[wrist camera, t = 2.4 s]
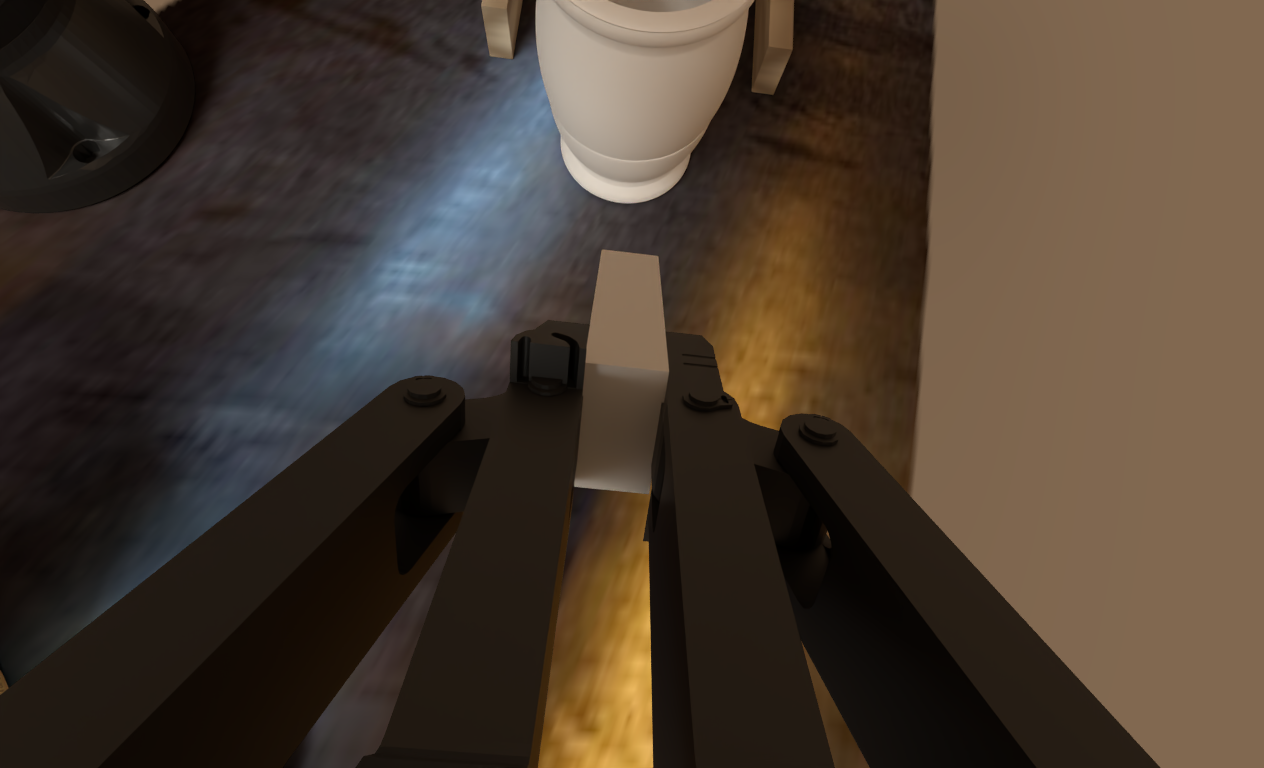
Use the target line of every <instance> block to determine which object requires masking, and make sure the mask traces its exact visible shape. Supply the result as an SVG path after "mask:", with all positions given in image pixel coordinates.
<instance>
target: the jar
mask: <svg viewBox="0 0 1264 768" xmlns="http://www.w3.org/2000/svg"><path fill="white" fill-rule="evenodd" d="M753 2H754V0H536V43H537V52H538V59H539V65H540V70H541V74H542V78H543V82H544V86H545V89H546V92H547V96H548V98H549V101H550V106H551V110H552V113H553V117H554V120H555V122H556V125H557V128H558V130H559V132H560V134H561V152H562V156H563V159H564V162H565V164H566V167H567V169H568V170H569V172H570V173H571V175H572V176H573V178H574V179H575V180H576V181H577V182H578V183H579V184H580V185H581V186H582V187H583V188H585V189H586V190H587V191H589V192H590V193H592V194H594V195H596V196H598V197H600V198H602V199H605V200H608V201H612V202H617V203H639V202H645V201H648V200H651V199H654V198H657V197H659V196H661V195H662V194H664V193H666V192H667V191H668V190H670V189H671V188H672V187H673V186H674V185H675V184H676V183H677V182H678V181H679V180H680V178H681V177H682V176H683V174H684V172H685V170H686V168H687V166H688V163H689V159H690V154H691V152H692V151H693V149H694V148H695V147H696V146H697V144H698V143H699V141H700V140H701V138H702V136H703V135H704V133H705V131H706V129H707V127H708V125H709V123H710V121H711V120H712V118H713V117H714V115H715V114H716V112H717V110H718V109H719V107H720V105H721V103H722V101H723V100H724V98H725V96H726V93H727V91H728V89H729V87H730V84H731V82H732V79H733V77H734V74H735V71H736V68H737V65H738V62H739V58H740V55H741V51H742V46H743V42H744V37H745V32H746V26H747V19H748V10H749V7H750V6H751V5H752V3H753Z"/></svg>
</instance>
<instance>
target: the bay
mask: <svg viewBox="0 0 1264 768" xmlns="http://www.w3.org/2000/svg"><path fill="white" fill-rule="evenodd" d="M522 2H523V0H482V4H481V7H482V13H483V19H484V25H485V30H486V36H487V42H488V48H489V54H490V56H493V57H500V58H508V59H513V55H514V49H515V43H516V37H517V31H518V26H519V20H520V14H521V8H522ZM793 19H794V0H756V7H755V28H754V49H753V71H752V92H756V93H763V94H770V95H774V92H775V90H776V88H777V85H778V83H779V81H780V78H781V76H782V74H783V71H784V69H785V67H786V64H787V62H788V59H789V57H790V55H791V52H792V50H793Z"/></svg>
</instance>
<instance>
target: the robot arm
mask: <svg viewBox="0 0 1264 768" xmlns="http://www.w3.org/2000/svg"><path fill="white" fill-rule="evenodd" d="M194 98H195V82H194V75H193V70H192V67H191V63H190V61H189V58H188V56H187V54H186V52H185V50H184V49H183V47H182V46H181V44H180V43H179V41H178V40H177V39H176V37H175V36H174V35H173V34H172V32H171V31H170V30H169V28H168V27H167V26H166V25H165V23H164V22H163V21H162V19H161V18H160V17H159V16H158V14H157V13H156V12H155V11H154V10H153V9H152V8H151V7H150V6H149V5H148V4H147V3H146V2H145V1H143V0H0V209H4V210H9V211H15V212H25V213H50V212H60V211H66V210H72V209H76V208H81V207H85V206H88V205H92V204H95V203H98V202H100V201H103V200H106V199H108V198H110V197H113V196H115V195H117V194H119V193H121V192H123V191H125V190H126V189H128V188H130V187H132V186H133V185H135V184H136V183H138V182H139V181H141V180H142V179H143V178H145V177H146V176H148V175H149V174H150V173H151V172H152V171H154V170H155V169H156V168H157V167H158V166H159V165H160V164H161V163H162V162H163V161H164V160H165V159H166V158H167V157H168V156H169V154H170V153H171V152H172V151H173V149H174V148H175V147H176V145H177V144H178V142H179V141H180V139H181V137H182V135H183V134H184V132H185V130H186V127H187V125H188V123H189V120H190V117H191V114H192V110H193V105H194ZM651 478H652V491H651V497H650V503H649V509H648V515H647V521H646V527H645V533H644V539H643V541H649V573H650V623H651V673H652V722H653V768H835V767H834V763H833V759H832V755H831V752H830V748H829V744H828V740H827V737H826V733H825V729H824V725H823V722H822V718H821V714H820V710H819V707H818V703H817V699H816V695H815V692H814V688H813V684H812V680H811V677H810V673H809V669H808V665H807V661H806V658H805V654H804V650H803V646H802V643H803V645H804V647H805V648H806V650H807V652H808V654H809V656H810V658H811V660H812V661H813V663H814V665H815V667H816V669H817V671H818V673H819V674H820V676H821V678H822V680H823V682H824V684H825V685H826V687H827V689H828V691H829V693H830V695H831V697H832V698H833V700H834V702H835V704H836V706H837V708H838V710H839V711H840V713H841V715H842V717H843V719H844V721H845V722H846V724H847V726H848V728H849V730H850V732H851V734H852V735H853V737H854V739H855V741H856V743H857V745H858V747H859V748H860V750H861V752H862V754H863V756H864V758H865V760H866V761H867V763H868V765H869V767H870V768H1160V767H1159V766H1158V765H1157V764H1156V763H1155V761H1154V760H1153V759H1152V758H1151V757H1150V756H1149V755H1148V754H1147V753H1146V752H1145V751H1144V749H1143V748H1142V747H1141V746H1140V745H1139V744H1138V743H1137V742H1136V741H1135V740H1134V739H1133V738H1132V737H1131V735H1130V734H1129V733H1128V732H1127V731H1126V730H1125V729H1124V728H1123V727H1122V726H1121V725H1120V724H1119V722H1118V721H1117V720H1116V719H1115V718H1114V717H1113V716H1112V715H1111V714H1110V713H1109V711H1108V710H1107V709H1106V708H1105V707H1104V706H1103V705H1102V704H1101V703H1100V702H1099V701H1098V700H1097V698H1096V697H1095V696H1094V695H1093V694H1092V693H1091V692H1090V691H1089V690H1088V689H1087V688H1086V687H1085V685H1084V684H1083V683H1082V682H1081V681H1080V680H1079V679H1078V678H1077V677H1076V676H1075V675H1074V674H1073V672H1072V671H1071V670H1070V669H1069V668H1068V667H1067V666H1066V665H1065V664H1064V663H1063V662H1062V661H1061V659H1060V658H1059V657H1058V656H1057V655H1056V654H1055V653H1054V652H1053V651H1052V650H1051V649H1050V647H1049V646H1048V645H1047V644H1046V643H1045V642H1044V641H1043V640H1042V639H1041V638H1040V637H1039V636H1038V634H1037V633H1036V632H1035V631H1034V630H1033V629H1032V628H1031V627H1030V626H1029V625H1028V624H1027V622H1026V621H1025V620H1024V619H1023V618H1022V617H1021V616H1020V615H1019V614H1018V613H1017V612H1016V611H1015V610H1014V608H1013V607H1012V606H1011V605H1010V604H1009V603H1008V602H1007V601H1006V600H1005V599H1004V598H1003V596H1002V595H1001V594H1000V593H999V592H998V591H997V590H996V589H995V588H994V587H993V586H992V585H991V584H990V582H989V581H988V580H987V579H986V578H985V577H984V576H983V575H982V574H981V573H980V571H979V570H978V569H977V568H976V567H975V566H974V565H973V564H972V563H971V562H970V561H969V560H968V558H967V557H966V556H965V555H964V554H963V553H962V552H961V551H960V550H959V549H958V548H957V546H956V545H954V543H953V542H952V541H951V540H950V539H949V538H948V537H947V536H946V535H945V533H944V532H943V531H942V530H941V529H940V528H939V527H938V526H937V525H936V524H935V523H934V522H933V521H932V519H930V517H929V516H928V515H927V514H926V513H925V512H924V511H923V510H922V509H921V507H920V506H919V505H918V504H917V503H916V502H915V501H914V500H913V499H912V498H911V497H910V495H909V494H908V493H907V492H906V491H905V490H904V489H903V488H902V487H901V486H900V485H899V484H898V482H897V481H896V480H895V479H894V478H893V477H892V476H891V475H890V474H889V473H888V472H887V471H886V469H885V468H884V467H883V466H882V465H881V464H880V463H879V462H878V461H877V460H876V459H875V458H874V456H873V455H872V454H871V453H870V452H869V451H868V450H867V449H866V448H865V447H864V446H863V444H862V443H861V442H860V441H859V440H858V439H857V438H856V437H855V436H854V435H853V434H852V433H851V432H850V431H849V430H848V429H846V428H845V427H844V426H843V425H841V424H839V423H837V422H835V421H833V420H831V419H830V418H828V417H824V416H822V417H821V415H816V414H795V415H790V416H788V417H787V418H785V419H783V420H782V424H781V427H780V430H779V431H777V430H774V429H770V428H767V427H763V426H760V425H757V424H754V423H751V422H749V421H747V420H745V419H743V418H742V417H741V413H740V410H739V406H738V404H737V403H736V401H735V399H734V398H733V397H731V396H730V395H729V394H727V393H726V392H724V391H723V387H722V383H721V379H720V375H719V370H718V368H717V362H716V359H715V354H714V350H713V346H712V345H711V344H710V343H709V342H708V341H707V340H706V339H705V338H704V337H702V336H701V335H692V334H683V333H674V332H666V331H665V323H664V313H663V302H662V292H661V281H660V271H659V260H658V256H653V255H644V254H636V253H627V252H619V251H610V250H602V252H601V258H600V265H599V271H598V277H597V284H596V290H595V296H594V303H593V309H592V315H591V322H590V325H588V324H579V323H570V322H561V321H552V320H548V321H546V322H545V323H543V324H542V325H540V326H539V327H537V328H536V329H535V330H528V331H524V332H522V333H520V334H517V335H516V336H515V337H514V338H513V339H512V340H511V358H510V383H509V386H508V388H507V391H506V392H505V393H503V394H501V395H497V396H493V397H488V398H481V399H467V400H465V394H464V390H463V388H462V387H461V386H460V385H458V384H457V383H456V382H454V381H451V380H448V379H446V378H441V377H434V376H415V377H412V378H408V379H404V380H401V381H399V382H397V383H395V384H393V385H391V386H389V387H388V388H387V389H386V390H384V391H383V392H382V393H381V394H379V395H378V396H377V397H376V398H374V399H373V400H372V401H371V402H369V403H368V404H367V405H365V406H364V407H363V408H362V409H360V410H359V411H358V412H357V413H355V414H354V415H353V416H352V417H350V418H349V419H348V420H347V421H345V422H344V423H343V424H341V425H340V426H339V427H338V428H336V429H335V430H334V431H333V432H331V433H330V434H329V435H328V436H326V437H325V438H324V439H323V440H321V441H320V442H319V443H317V444H316V445H315V446H314V447H312V448H311V449H310V450H309V451H307V452H306V453H305V454H304V455H302V456H301V457H300V458H299V459H297V460H296V461H295V462H294V463H292V464H291V465H290V466H288V467H287V468H286V469H285V470H283V471H282V472H281V473H280V474H278V475H277V476H276V477H275V478H273V479H272V480H271V481H270V482H268V483H267V484H266V485H264V486H263V487H262V488H261V489H259V490H258V491H257V492H256V493H254V494H253V495H252V496H251V497H249V498H248V499H247V500H246V501H244V502H243V503H242V504H240V505H239V506H238V507H237V508H235V509H234V510H233V511H232V512H230V513H229V514H228V515H227V516H225V517H224V518H223V519H222V520H220V521H219V522H218V523H216V524H215V525H214V526H213V527H211V528H210V529H209V530H208V531H206V532H205V533H204V534H203V535H201V536H200V537H199V538H198V539H196V540H195V541H194V542H193V543H191V544H190V545H189V546H187V547H186V548H185V549H184V550H182V551H181V552H180V553H179V554H177V555H176V556H175V557H174V558H172V559H171V560H170V561H169V562H167V563H166V564H165V565H163V566H162V567H161V568H160V569H158V570H157V571H156V572H155V573H153V574H152V575H151V576H150V577H148V578H147V579H146V580H145V581H143V582H142V583H141V584H139V585H138V586H137V587H136V588H134V589H133V590H132V591H131V592H129V593H128V594H127V595H126V596H124V597H123V598H122V599H121V600H119V601H118V602H117V603H115V604H114V605H113V606H112V607H110V608H109V609H108V610H107V611H105V612H104V613H103V614H102V615H100V616H99V617H98V618H97V619H95V620H94V621H93V622H92V623H90V624H89V625H88V626H86V627H85V628H84V629H83V630H81V631H80V632H79V633H78V634H76V635H75V636H74V637H73V638H71V639H70V640H69V641H68V642H66V643H65V644H64V645H62V646H61V647H60V648H59V649H57V650H56V651H55V652H54V653H52V654H51V655H50V656H49V657H47V658H46V659H45V660H44V661H42V662H41V663H40V664H38V665H37V666H36V667H35V668H33V669H32V670H31V671H30V672H28V673H27V674H26V675H25V676H23V677H22V678H21V679H20V680H18V681H17V682H16V683H15V684H13V685H12V686H11V687H9V688H8V689H7V690H6V691H4V692H3V693H2V694H1V695H0V768H282V767H283V766H284V765H285V763H286V762H287V761H288V759H289V758H290V756H291V755H292V754H293V752H294V751H295V750H296V748H297V747H298V746H299V744H300V743H301V742H302V740H303V739H304V738H305V736H306V735H307V733H308V732H309V731H310V729H311V728H312V727H313V725H314V724H315V723H316V721H317V720H318V719H319V717H320V716H321V715H322V713H323V712H324V710H325V709H326V708H327V706H328V705H329V704H330V702H331V701H332V700H333V698H334V697H335V696H336V694H337V693H338V692H339V690H340V689H341V687H342V686H343V685H344V683H345V682H346V681H347V679H348V678H349V677H350V675H351V674H352V673H353V671H354V670H355V668H356V667H357V666H358V664H359V663H360V662H361V660H362V659H363V658H364V656H365V655H366V654H367V652H368V651H369V650H370V648H371V647H372V645H373V644H374V643H375V641H376V640H377V639H378V637H379V636H380V635H381V633H382V632H383V631H384V629H385V628H386V627H387V625H388V624H389V622H390V621H391V620H392V618H393V617H394V616H395V614H396V613H397V612H398V610H399V609H400V608H401V606H402V605H403V604H404V602H405V601H406V599H407V598H408V597H409V595H410V594H411V593H412V591H413V590H414V589H415V587H416V586H417V585H418V583H419V582H420V581H421V579H422V578H423V576H424V575H425V574H426V572H427V571H428V570H429V568H430V567H431V566H432V564H433V563H434V562H435V560H436V559H437V557H438V556H439V555H440V553H441V552H442V551H443V549H444V548H445V547H446V545H447V544H448V543H449V541H450V540H451V539H452V537H453V536H454V534H455V533H456V535H455V538H454V541H453V544H452V547H451V549H450V552H449V555H448V558H447V561H446V563H445V566H444V569H443V572H442V575H441V578H440V580H439V583H438V586H437V589H436V592H435V595H434V597H433V600H432V603H431V606H430V609H429V611H428V614H427V617H426V620H425V623H424V626H423V628H422V631H421V634H420V637H419V640H418V643H417V645H416V648H415V651H414V654H413V657H412V659H411V662H410V665H409V668H408V671H407V674H406V676H405V679H404V682H403V685H402V688H401V691H400V693H399V696H398V699H397V702H396V705H395V707H394V710H393V713H392V716H391V719H390V722H389V724H388V727H387V730H386V733H385V735H384V738H383V740H382V742H381V745H380V747H379V748H378V750H377V751H376V753H375V754H372V755H368V756H364V757H363V758H362V759H361V761H360V762H359V764H358V765H357V766H356V768H538V761H539V753H540V745H541V738H542V730H543V723H544V715H545V707H546V700H547V692H548V685H549V677H550V669H551V662H552V654H553V646H554V639H555V631H556V624H557V616H558V608H559V601H560V593H561V586H562V578H563V570H564V563H565V555H566V548H567V540H568V532H569V525H570V517H571V509H572V501H573V491H574V487H583V488H593V489H604V490H614V491H624V492H634V493H644V494H649V490H650V484H651ZM827 531H828V533H829V536H830V538H829V537H828V536H827V534H826V533H827ZM801 641H802V643H801Z"/></svg>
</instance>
